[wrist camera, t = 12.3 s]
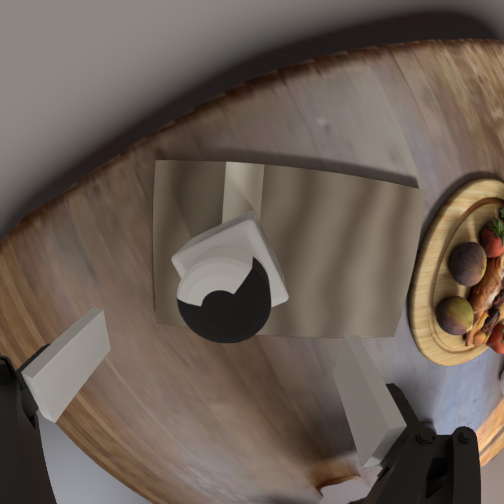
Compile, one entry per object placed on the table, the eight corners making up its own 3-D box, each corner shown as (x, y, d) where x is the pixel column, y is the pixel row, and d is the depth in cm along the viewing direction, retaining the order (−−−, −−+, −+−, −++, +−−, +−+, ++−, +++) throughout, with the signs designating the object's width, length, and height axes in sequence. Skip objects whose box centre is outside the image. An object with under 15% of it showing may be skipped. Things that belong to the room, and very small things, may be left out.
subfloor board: (419, 189, 29) (426, 190, 27) (389, 331, 34) (394, 337, 33) (160, 160, 29) (155, 160, 27) (160, 317, 34) (156, 323, 33)
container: (283, 271, 30) (298, 333, 18) (221, 298, 31) (200, 368, 19) (253, 208, 29) (249, 230, 16) (190, 238, 30) (144, 280, 17)
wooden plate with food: (517, 317, 34) (540, 332, 26) (406, 387, 37) (425, 417, 29) (517, 164, 27) (548, 166, 19) (389, 204, 30) (425, 210, 22)
